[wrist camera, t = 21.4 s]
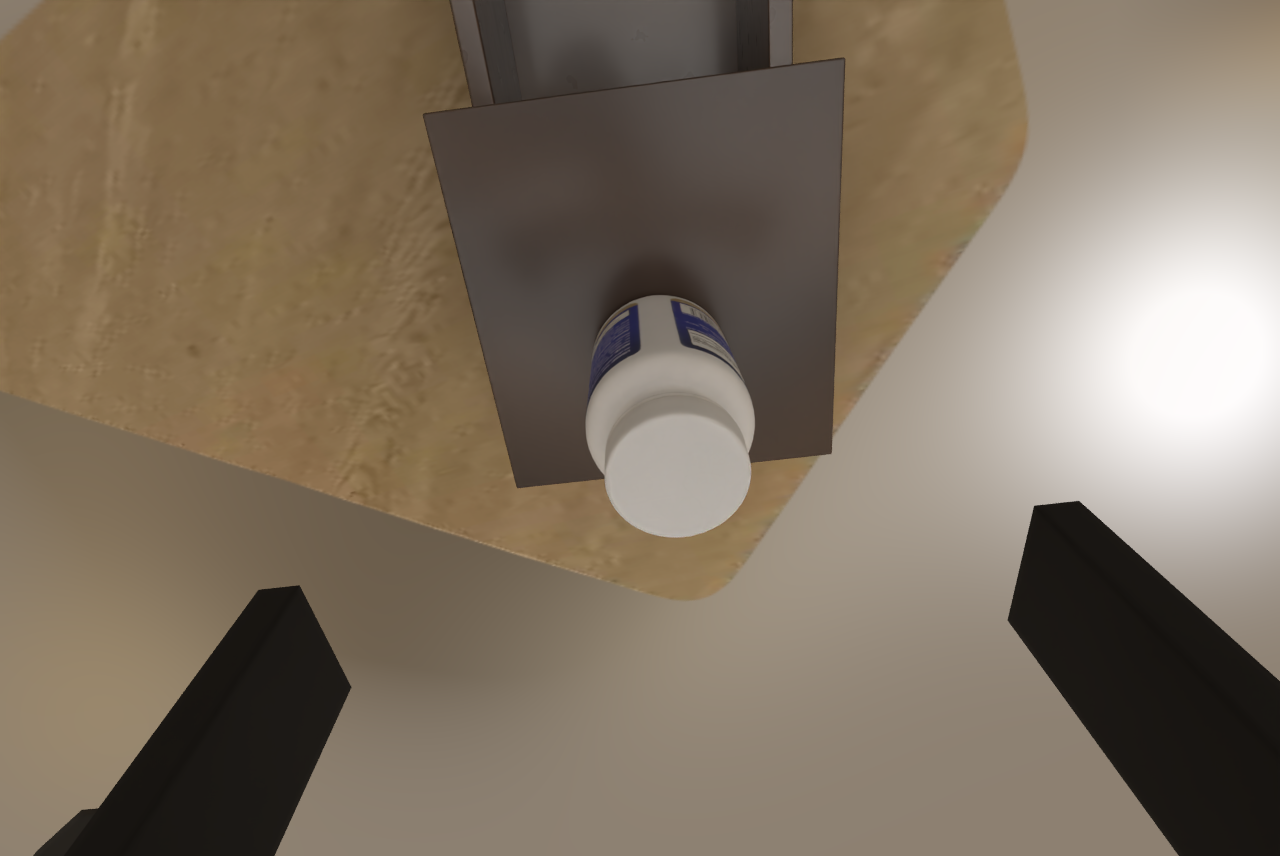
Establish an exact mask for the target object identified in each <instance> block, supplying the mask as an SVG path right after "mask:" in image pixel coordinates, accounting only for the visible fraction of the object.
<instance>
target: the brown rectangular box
mask: <svg viewBox="0 0 1280 856" xmlns="http://www.w3.org/2000/svg"><path fill="white" fill-rule="evenodd" d="M844 82H845V58H844V57H843V58H835V59H828V60H820V61H813V62H805V63H798V64H790V65H783V66H775V67H768V68H760V69H753V70H745V71H738V72H730V73H723V74H715V75H708V76H700V77H693V78H685V79H678V80H670V81H663V82H655V83H648V84H640V85H633V86H625V87H618V88H610V89H603V90H595V91H588V92H580V93H573V94H565V95H558V96H550V97H543V98H535V99H528V100H520V101H513V102H505V103H498V104H490V105H483V106H475V107H468V108H460V109H453V110H445V111H438V112H430V113H424V114H423V118H424V122H425V126H426V130H427V134H428V138H429V142H430V146H431V150H432V154H433V158H434V161H435V165H436V169H437V173H438V177H439V181H440V185H441V189H442V193H443V197H444V201H445V205H446V209H447V213H448V217H449V221H450V225H451V229H452V233H453V237H454V241H455V245H456V249H457V253H458V257H459V261H460V264H461V268H462V272H463V276H464V280H465V284H466V288H467V292H468V296H469V300H470V304H471V308H472V312H473V316H474V320H475V324H476V328H477V332H478V336H479V340H480V344H481V348H482V352H483V356H484V360H485V364H486V367H487V371H488V375H489V379H490V383H491V387H492V391H493V395H494V399H495V403H496V407H497V411H498V415H499V419H500V423H501V427H502V431H503V435H504V439H505V443H506V447H507V451H508V455H509V459H510V463H511V467H512V471H513V474H514V478H515V482H516V486H517V488H523V487H533V486H542V485H551V484H560V483H569V482H578V481H588V480H597V479H604V478H605V475H604V474H603V473H602V472H601V471H600V469H599V468H598V466H597V465H596V463H595V461H594V460H593V458H592V455H591V453H590V450H589V447H588V443H587V438H586V427H585V420H586V410H587V401H588V392H589V383H590V374H591V365H592V356H593V350H594V345H595V342H596V339H597V336H598V334H599V332H600V330H601V328H602V327H603V325H604V324H605V322H606V321H607V320H608V319H609V317H610V316H611V315H612V314H614V313H615V312H616V311H617V310H618V309H620V308H621V307H623V306H624V305H626V304H627V303H629V302H631V301H634V300H636V299H639V298H643V297H646V296H652V295H667V296H675V297H679V298H683V299H686V300H688V301H691V302H693V303H695V304H696V305H698V306H700V307H701V308H703V309H704V310H705V311H706V312H707V313H708V314H709V315H710V316H711V317H712V318H713V319H714V320H715V322H716V323H717V324H718V326H719V328H720V329H721V331H722V333H723V335H724V337H725V339H726V341H727V344H728V346H729V348H730V351H731V353H732V355H733V357H734V359H735V362H736V364H737V366H738V369H739V371H740V373H741V375H742V378H743V380H744V382H745V385H746V387H747V389H748V392H749V395H750V398H751V401H752V405H753V409H754V416H755V430H754V436H753V441H752V444H751V448H750V450H749V453H748V455H749V458H750V463H753V462H762V461H771V460H780V459H789V458H798V457H808V456H817V455H826V454H831V453H832V431H833V402H834V373H835V344H836V315H837V286H838V257H839V228H840V199H841V169H842V140H843V111H844Z"/></svg>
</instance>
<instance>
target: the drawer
mask: <svg viewBox="0 0 1280 856" xmlns="http://www.w3.org/2000/svg"><path fill="white" fill-rule="evenodd" d="M449 1H450V6H451V11H452V15H453V20H454V24H455V29H456V34H457V38H458V43H459V47H460V52H461V57H462V61H463V66H464V70H465V75H466V80H467V84H468V89H469V93H470V98H471V103H472V107H475V106H483V105H490V104H498V103H505V102H513V101H520V100H528V99H535V98H543V97H550V96H558V95H565V94H573V93H580V92H588V91H595V90H603V89H610V88H618V87H625V86H633V85H640V84H648V83H655V82H663V81H670V80H678V79H685V78H693V77H700V76H708V75H715V74H723V73H730V72H738V71H745V70H753V69H760V68H768V67H775V66H783V65H790V64H793V0H449Z"/></svg>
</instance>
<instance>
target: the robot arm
mask: <svg viewBox="0 0 1280 856" xmlns="http://www.w3.org/2000/svg"><path fill="white" fill-rule="evenodd" d="M1008 621H1009V623H1010V624H1011V626H1012V627H1013V628H1014V630H1015V631H1016V632H1017V634H1018V635H1019V637H1020V638H1021V639H1022V641H1023V642H1024V643H1025V645H1026V646H1027V648H1028V649H1029V650H1030V652H1031V653H1032V654H1033V656H1034V657H1035V658H1036V660H1037V661H1038V663H1039V664H1040V665H1041V667H1042V668H1043V670H1044V671H1045V672H1046V674H1047V675H1048V676H1049V678H1050V679H1051V681H1052V682H1053V683H1054V685H1055V686H1056V687H1057V689H1058V690H1059V692H1060V693H1061V694H1062V696H1063V697H1064V698H1065V700H1066V701H1067V702H1068V704H1069V705H1070V707H1071V708H1072V709H1073V711H1074V712H1075V714H1076V715H1077V716H1078V718H1079V719H1080V720H1081V722H1082V723H1083V725H1084V726H1085V727H1086V729H1087V730H1088V731H1089V733H1090V734H1091V736H1092V737H1093V738H1094V739H1095V741H1096V742H1097V744H1098V745H1099V747H1100V748H1101V749H1102V750H1103V752H1104V753H1105V755H1106V756H1107V758H1108V759H1109V760H1110V762H1111V763H1112V764H1113V766H1114V767H1115V769H1116V770H1117V771H1118V773H1119V774H1120V775H1121V777H1122V778H1123V780H1124V781H1125V782H1126V784H1127V785H1128V786H1129V788H1130V789H1131V790H1132V792H1133V793H1134V795H1135V796H1136V797H1137V799H1138V800H1139V801H1140V803H1141V804H1142V806H1143V807H1144V808H1145V810H1146V811H1147V813H1148V814H1149V815H1150V817H1151V818H1152V819H1153V821H1154V822H1155V824H1156V825H1157V826H1158V828H1159V829H1160V830H1161V832H1162V833H1163V835H1164V836H1165V837H1166V839H1167V840H1168V841H1169V843H1170V844H1171V845H1172V847H1173V848H1174V850H1175V851H1176V852H1177V854H1178V855H1179V856H1280V681H1279V680H1278V679H1277V678H1276V677H1274V676H1273V675H1272V674H1271V673H1270V672H1269V671H1268V670H1267V669H1266V668H1264V667H1263V666H1262V665H1261V664H1260V663H1259V662H1258V661H1257V660H1255V659H1254V658H1253V657H1252V656H1251V655H1250V654H1249V653H1248V652H1247V651H1245V650H1244V649H1243V648H1242V647H1241V646H1240V645H1239V644H1238V643H1237V642H1235V641H1234V640H1233V639H1232V638H1231V637H1230V636H1229V635H1228V634H1227V633H1225V632H1224V631H1223V630H1222V629H1221V628H1220V627H1219V626H1218V625H1217V624H1215V623H1214V622H1213V621H1212V620H1211V619H1210V618H1208V616H1207V615H1205V614H1204V613H1203V612H1202V611H1201V610H1200V609H1199V608H1198V607H1196V606H1195V605H1194V604H1193V603H1192V602H1191V601H1190V600H1189V599H1188V598H1186V597H1185V596H1184V595H1183V594H1182V593H1181V592H1180V591H1179V590H1178V589H1176V588H1175V587H1174V586H1173V585H1172V584H1170V582H1169V581H1167V580H1166V579H1165V578H1164V577H1163V576H1162V575H1161V574H1160V573H1159V572H1158V571H1156V570H1155V569H1154V568H1153V567H1152V566H1151V565H1150V564H1149V563H1148V562H1146V561H1145V560H1144V559H1143V558H1142V557H1141V556H1140V555H1139V554H1138V553H1136V552H1135V551H1134V550H1133V549H1132V548H1131V547H1130V546H1129V545H1127V544H1126V543H1125V542H1124V541H1123V540H1122V539H1121V538H1119V536H1117V535H1116V534H1115V533H1114V532H1113V531H1112V530H1111V529H1110V528H1109V527H1107V526H1106V525H1105V524H1104V523H1103V522H1102V521H1101V520H1100V519H1098V518H1097V517H1096V516H1095V515H1094V514H1093V513H1092V512H1091V511H1090V510H1089V509H1087V508H1086V507H1085V506H1084V505H1083V504H1082V503H1081V502H1080V501H1074V502H1065V503H1056V504H1047V505H1037V506H1034V509H1033V514H1032V518H1031V522H1030V526H1029V530H1028V535H1027V539H1026V543H1025V548H1024V552H1023V556H1022V561H1021V565H1020V569H1019V574H1018V578H1017V583H1016V586H1015V591H1014V595H1013V599H1012V604H1011V608H1010V613H1009V617H1008ZM350 689H351V686H350V684H349V682H348V680H347V678H346V676H345V674H344V672H343V670H342V668H341V666H340V664H339V662H338V660H337V658H336V656H335V654H334V652H333V650H332V648H331V646H330V644H329V642H328V640H327V638H326V637H325V634H324V632H323V631H322V629H321V627H320V625H319V623H318V621H317V619H316V617H315V615H314V613H313V611H312V609H311V607H310V605H309V603H308V601H307V599H306V597H305V595H304V593H303V591H302V589H301V587H300V586H290V587H282V588H281V587H280V588H272V589H262V590H258V591H257V593H256V594H255V595H254V597H253V598H252V600H251V601H250V602H249V604H248V605H247V606H246V608H245V609H244V611H243V612H242V613H241V615H240V616H239V617H238V619H237V620H236V622H235V623H234V624H233V626H232V627H231V628H230V630H229V631H228V632H227V634H226V635H225V637H224V638H223V639H222V641H221V642H220V643H219V645H218V646H217V647H216V649H215V650H214V651H213V653H212V654H211V655H210V657H209V658H208V660H207V661H206V662H205V664H204V665H203V666H202V668H201V669H200V670H199V672H198V673H197V675H196V676H195V677H194V679H193V680H192V681H191V683H190V684H189V686H188V687H187V688H186V690H185V691H184V692H183V694H182V695H181V696H180V698H179V699H178V701H177V702H176V703H175V705H174V706H173V707H172V709H171V710H170V711H169V713H168V714H167V716H166V717H165V718H164V720H163V721H162V722H161V724H160V725H159V727H158V728H157V729H156V731H155V732H154V733H153V735H152V736H151V737H150V739H149V740H148V742H147V743H146V744H145V746H144V747H143V748H142V750H141V751H140V753H139V754H138V755H137V757H136V758H135V759H134V761H133V762H132V763H131V765H130V766H129V767H128V769H127V770H126V772H125V773H124V774H123V776H122V777H121V779H120V780H119V781H118V782H117V784H116V785H115V787H114V788H113V789H112V791H111V792H110V793H109V795H108V796H107V798H106V799H105V800H104V802H103V803H102V804H101V806H100V807H99V808H98V809H88V810H81V811H80V812H79V813H78V814H77V815H76V816H75V817H73V818H72V819H71V820H70V821H69V822H68V823H67V824H66V825H65V826H64V827H63V828H61V829H60V830H59V831H58V832H57V833H56V834H55V835H54V836H53V837H52V838H51V839H49V841H47V842H46V843H45V844H44V845H43V846H42V847H41V848H40V849H39V850H38V851H37V852H36V853H35V854H34V856H274V855H275V853H276V851H277V849H278V847H279V845H280V842H281V840H282V838H283V836H284V834H285V831H286V829H287V827H288V825H289V822H290V820H291V818H292V816H293V814H294V812H295V809H296V807H297V805H298V803H299V801H300V798H301V796H302V794H303V792H304V790H305V788H306V785H307V783H308V781H309V779H310V776H311V774H312V772H313V770H314V768H315V765H316V763H317V761H318V759H319V757H320V755H321V752H322V750H323V748H324V746H325V744H326V741H327V739H328V737H329V735H330V733H331V731H332V728H333V726H334V724H335V722H336V720H337V717H338V715H339V713H340V711H341V709H342V707H343V704H344V702H345V700H346V698H347V696H348V693H349V691H350Z"/></svg>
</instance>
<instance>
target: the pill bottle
mask: <svg viewBox="0 0 1280 856" xmlns="http://www.w3.org/2000/svg"><path fill="white" fill-rule="evenodd" d="M585 427H586V438H587V443H588V447H589V450H590V453H591V455H592V458H593V460H594V461H595V463H596V465H597V466H598V468H599V469H600V471H601V472H602V473H603V474H604V475H605V478H604V479H605V487H606V491H607V494H608V497H609V499H610V501H611V503H612V505H613V506H614V508H615V509H616V511H617V512H618V513H619V514H620V515H621V516H622V517H623V518H624V519H625V520H626V521H627V522H629V523H630V524H631V525H633V526H634V527H636V528H638V529H640V530H642V531H644V532H647V533H650V534H653V535H657V536H663V537H688V536H693V535H697V534H700V533H704V532H706V531H708V530H711V529H713V528H715V527H717V526H718V525H720V524H722V523H723V522H725V521H726V520H727V519H728V518H729V517H731V515H733V514H734V512H735V511H736V510H737V509H738V508H739V506H740V505H741V504H742V502H743V500H744V498H745V496H746V494H747V491H748V488H749V485H750V479H751V463H750V458H749V455H748V453H749V450H750V448H751V444H752V441H753V436H754V430H755V416H754V409H753V405H752V401H751V398H750V395H749V392H748V389H747V387H746V385H745V382H744V380H743V378H742V375H741V373H740V371H739V369H738V366H737V364H736V362H735V359H734V357H733V355H732V353H731V351H730V348H729V346H728V344H727V341H726V339H725V337H724V335H723V333H722V331H721V329H720V328H719V326H718V324H717V323H716V322H715V320H714V319H713V318H712V317H711V316H710V315H709V314H708V313H707V312H706V311H705V310H704V309H703V308H701V307H700V306H698V305H696V304H695V303H693V302H691V301H688V300H686V299H683V298H679V297H675V296H667V295H652V296H646V297H643V298H639V299H636V300H634V301H631V302H629V303H627V304H626V305H624V306H623V307H621V308H620V309H618V310H617V311H616V312H615V313H614V314H612V315H611V316H610V317H609V319H608V320H607V321H606V322H605V324H604V325H603V327H602V328H601V330H600V332H599V334H598V336H597V339H596V342H595V345H594V350H593V356H592V365H591V374H590V383H589V392H588V401H587V410H586V420H585Z"/></svg>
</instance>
